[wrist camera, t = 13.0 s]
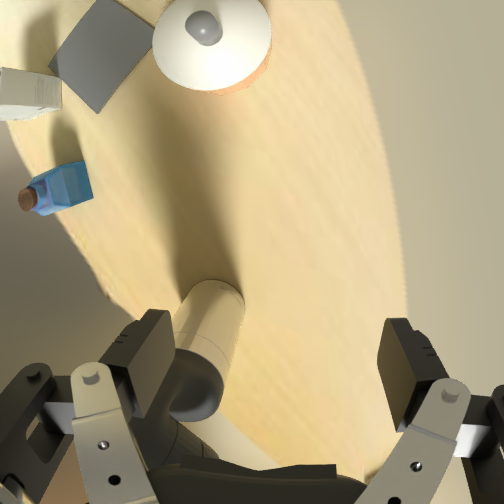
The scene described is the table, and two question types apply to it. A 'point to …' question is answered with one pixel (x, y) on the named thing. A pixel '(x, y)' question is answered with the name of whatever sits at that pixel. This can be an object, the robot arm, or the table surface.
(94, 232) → the table surface
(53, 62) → the mat
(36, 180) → the perfume bottle
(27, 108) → the skincare box
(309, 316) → the table surface
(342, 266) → the table surface
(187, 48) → the lid
